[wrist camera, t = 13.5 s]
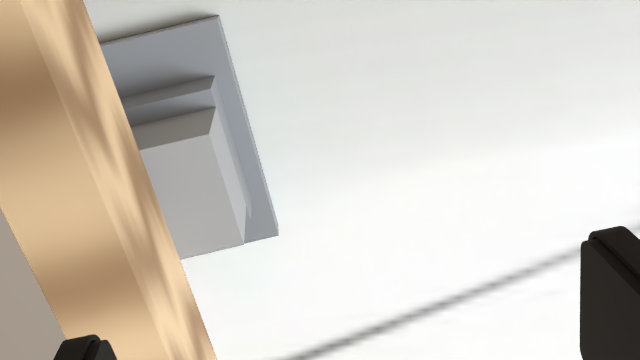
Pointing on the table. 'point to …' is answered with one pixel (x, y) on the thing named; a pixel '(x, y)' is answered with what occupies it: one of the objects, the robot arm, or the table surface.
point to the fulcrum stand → (193, 135)
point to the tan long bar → (86, 191)
